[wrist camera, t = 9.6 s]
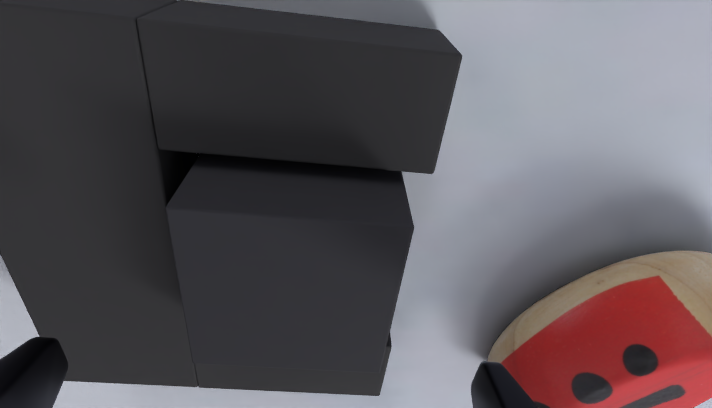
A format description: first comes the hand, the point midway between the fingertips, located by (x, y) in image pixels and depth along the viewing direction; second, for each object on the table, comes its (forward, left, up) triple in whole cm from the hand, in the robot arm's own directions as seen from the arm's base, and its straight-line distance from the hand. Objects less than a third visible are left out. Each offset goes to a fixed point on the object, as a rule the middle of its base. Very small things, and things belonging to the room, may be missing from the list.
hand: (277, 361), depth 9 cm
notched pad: (+2, 0, -5) cm, 6 cm away
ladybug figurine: (-12, +4, -6) cm, 14 cm away
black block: (0, 0, -5) cm, 5 cm away
